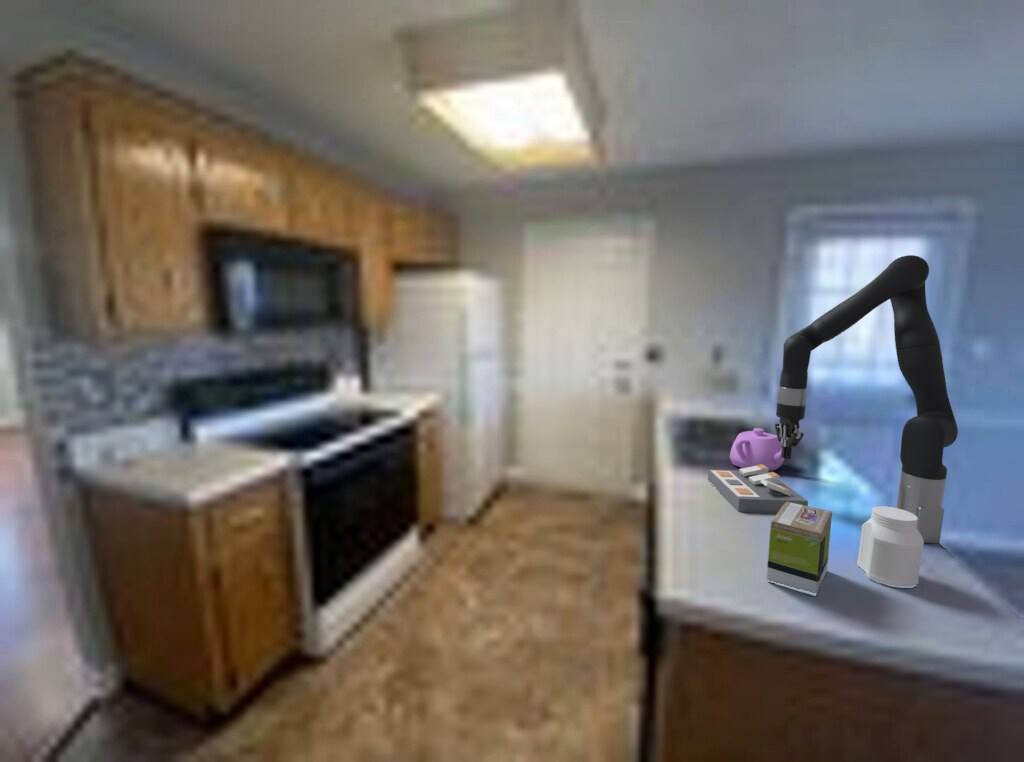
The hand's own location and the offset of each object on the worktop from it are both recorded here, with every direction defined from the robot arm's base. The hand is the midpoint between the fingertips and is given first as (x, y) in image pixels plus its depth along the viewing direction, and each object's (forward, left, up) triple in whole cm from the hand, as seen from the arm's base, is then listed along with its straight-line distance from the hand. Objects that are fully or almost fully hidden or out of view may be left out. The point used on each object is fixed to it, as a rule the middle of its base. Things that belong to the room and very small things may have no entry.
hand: (785, 458), depth 155 cm
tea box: (-43, +16, -15) cm, 48 cm away
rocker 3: (-1, +2, -9) cm, 9 cm away
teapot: (+37, -9, -15) cm, 41 cm away
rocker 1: (+15, +2, -9) cm, 18 cm away
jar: (-41, -5, -15) cm, 44 cm away
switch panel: (+7, +5, -15) cm, 17 cm away
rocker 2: (+7, +2, -9) cm, 12 cm away
